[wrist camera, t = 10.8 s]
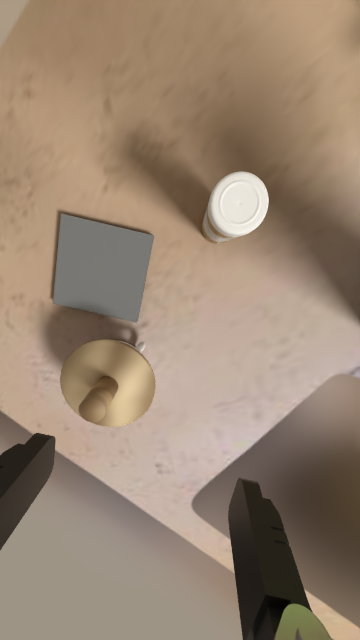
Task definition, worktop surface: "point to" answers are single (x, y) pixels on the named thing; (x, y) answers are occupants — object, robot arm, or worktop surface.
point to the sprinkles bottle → (235, 207)
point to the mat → (101, 268)
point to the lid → (108, 382)
